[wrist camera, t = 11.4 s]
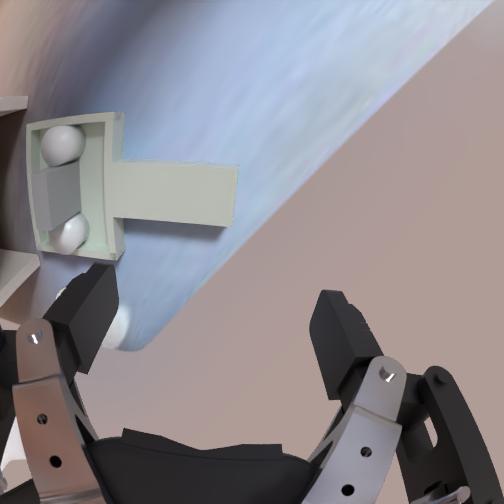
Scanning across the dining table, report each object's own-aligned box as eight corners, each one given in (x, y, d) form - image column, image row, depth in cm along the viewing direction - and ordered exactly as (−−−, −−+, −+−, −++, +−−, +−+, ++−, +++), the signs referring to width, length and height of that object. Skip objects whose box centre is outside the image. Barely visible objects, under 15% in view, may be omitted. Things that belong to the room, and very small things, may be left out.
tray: (245, 116, 21) (246, 112, 16) (228, 259, 27) (225, 297, 22) (40, 122, 19) (0, 128, 13) (48, 240, 25) (17, 267, 20)
